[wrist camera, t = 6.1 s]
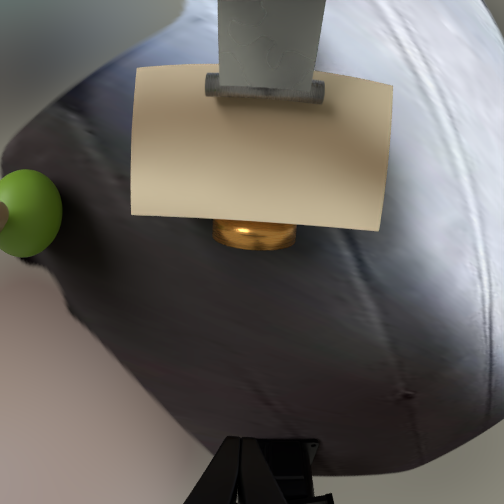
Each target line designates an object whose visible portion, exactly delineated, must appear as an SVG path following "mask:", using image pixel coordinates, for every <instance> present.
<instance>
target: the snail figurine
mask: <svg viewBox="0 0 504 504" xmlns="http://www.w3.org/2000/svg"><path fill="white" fill-rule="evenodd" d="M61 221H62V202H61V197H60V194H59V192H58V190H57V188H56V186H55V185H54V184H53V182H52V181H51V180H50V179H49V178H48V177H47V176H45V175H44V174H42V173H40V172H37V171H34V170H18V171H15V172H12V173H10V174H8V175H7V176H5V177H4V178H3V179H1V180H0V249H1V250H3V251H4V252H6V253H7V254H10V255H12V256H16V257H29V256H33V255H36V254H38V253H40V252H41V251H43V250H44V249H46V248H47V247H48V246H49V245H50V244H51V243H52V241H53V240H54V238H55V237H56V235H57V233H58V231H59V228H60V225H61Z"/></svg>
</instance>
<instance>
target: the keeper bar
mask: <svg viewBox="0 0 504 504" xmlns="http://www.w3.org/2000/svg"><path fill="white" fill-rule="evenodd" d="M325 2H326V0H218V45H219V73H207V74H206V78H205V95H206V97H238V98H257V99H271V100H283V101H293V102H303V103H311V104H319V105H322V103H323V100H324V95H325V83H324V81H321V80H314V79H312V78H313V73H314V67H315V62H316V56H317V50H318V44H319V39H320V33H321V27H322V21H323V15H324V9H325Z"/></svg>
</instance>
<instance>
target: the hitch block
mask: <svg viewBox="0 0 504 504" xmlns="http://www.w3.org/2000/svg"><path fill="white" fill-rule="evenodd" d="M207 73H219V64H184V65H165V66H152V67H141V68H137V73H136V83H135V94H134V107H133V123H132V145H131V215H149V216H172V217H192V218H210V219H227V220H243V221H258V222H273V223H286V224H299V225H312V226H324V227H336V228H347V229H358V230H369V231H379V227H380V220H381V214H382V207H383V200H384V193H385V185H386V176H387V167H388V158H389V147H390V134H391V119H392V98H393V86H391V85H387V84H383V83H379V82H374V81H370V80H365V79H360V78H355V77H350V76H344V75H339V74H333V73H326V72H319V71H314V73H313V78H312V79H314V80H321V81H324V83H325V95H324V100H323V103H322V105H319V104H311V103H303V102H293V101H283V100H271V99H257V98H238V97H206V95H205V78H206V74H207Z"/></svg>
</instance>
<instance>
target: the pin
mask: <svg viewBox="0 0 504 504" xmlns="http://www.w3.org/2000/svg"><path fill="white" fill-rule="evenodd" d="M296 228H297V224H286V223H273V222H258V221H243V220H227V219H213V238H214V239H215V240H216V241H217V242H219V243H221V244H224V245H227V246H230V247H235V248H240V249H247V250H277V249H283V248H287V247H290V246H292V245H293V244H294V243H295V238H296Z"/></svg>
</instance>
